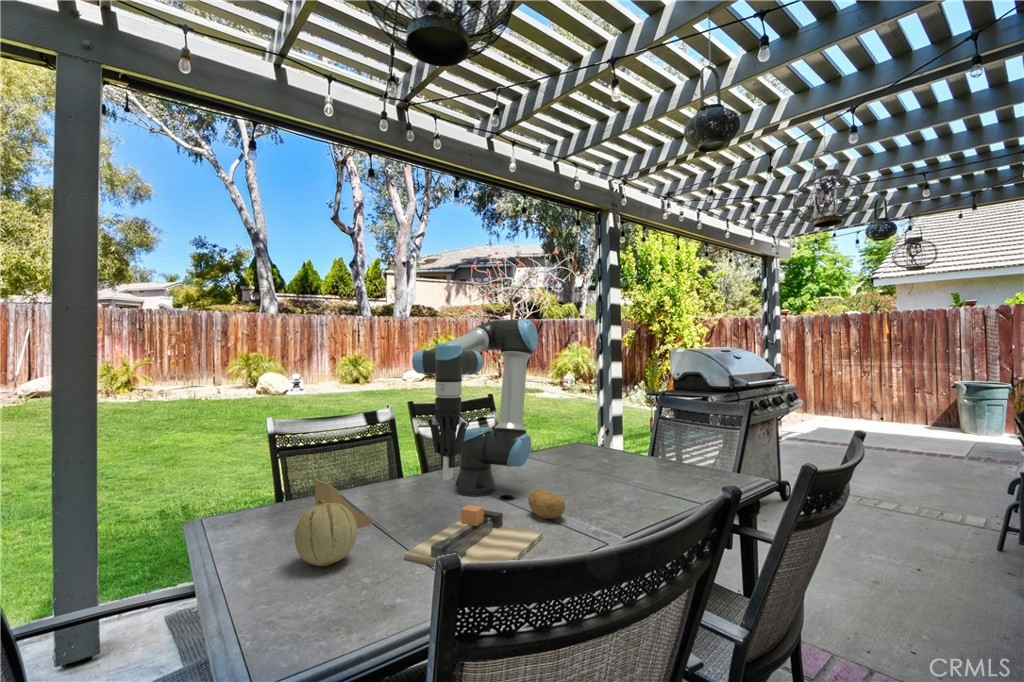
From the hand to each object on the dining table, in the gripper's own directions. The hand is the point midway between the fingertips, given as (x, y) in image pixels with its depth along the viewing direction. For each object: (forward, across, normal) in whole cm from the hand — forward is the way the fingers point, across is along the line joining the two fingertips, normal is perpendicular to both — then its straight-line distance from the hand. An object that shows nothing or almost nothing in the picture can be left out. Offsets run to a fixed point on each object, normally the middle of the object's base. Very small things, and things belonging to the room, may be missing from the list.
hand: (447, 478), depth 141 cm
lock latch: (+11, +8, 0) cm, 14 cm away
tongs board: (+16, +13, -6) cm, 21 cm away
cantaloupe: (+16, -16, -30) cm, 37 cm away
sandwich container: (+16, -30, -8) cm, 35 cm away
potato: (+16, +21, +24) cm, 36 cm away
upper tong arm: (+14, +12, -6) cm, 20 cm away
